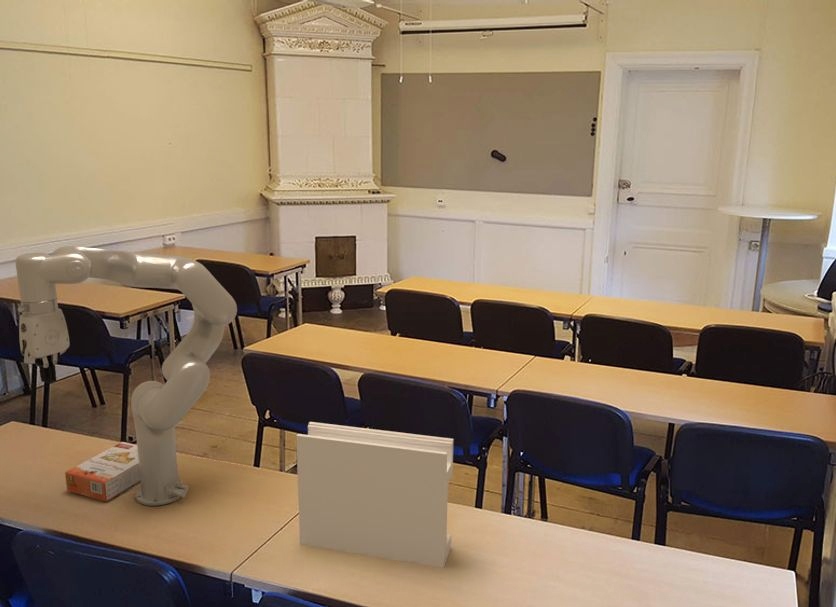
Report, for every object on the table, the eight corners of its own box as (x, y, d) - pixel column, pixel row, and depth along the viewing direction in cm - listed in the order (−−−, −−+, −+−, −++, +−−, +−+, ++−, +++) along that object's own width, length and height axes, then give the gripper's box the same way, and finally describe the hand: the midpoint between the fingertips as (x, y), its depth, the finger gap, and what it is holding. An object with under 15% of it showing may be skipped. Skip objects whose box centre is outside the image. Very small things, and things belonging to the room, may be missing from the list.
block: (300, 544, 171) (296, 435, 165) (313, 526, 179) (310, 421, 172) (443, 567, 163) (445, 454, 156) (450, 548, 170) (453, 438, 164)
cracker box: (63, 470, 191) (122, 440, 210) (66, 491, 193) (123, 459, 212) (104, 481, 186) (160, 449, 205) (106, 502, 188) (162, 468, 207)
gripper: (22, 316, 158) (32, 394, 163) (78, 301, 172) (86, 374, 176) (-2, 312, 161) (9, 389, 166) (55, 298, 175) (63, 369, 179)
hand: (48, 381), depth 171 cm, fingers closed
